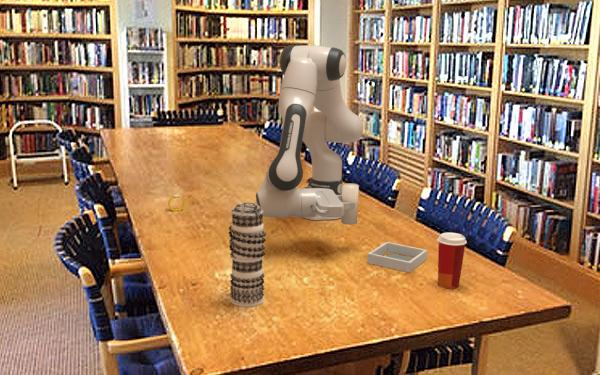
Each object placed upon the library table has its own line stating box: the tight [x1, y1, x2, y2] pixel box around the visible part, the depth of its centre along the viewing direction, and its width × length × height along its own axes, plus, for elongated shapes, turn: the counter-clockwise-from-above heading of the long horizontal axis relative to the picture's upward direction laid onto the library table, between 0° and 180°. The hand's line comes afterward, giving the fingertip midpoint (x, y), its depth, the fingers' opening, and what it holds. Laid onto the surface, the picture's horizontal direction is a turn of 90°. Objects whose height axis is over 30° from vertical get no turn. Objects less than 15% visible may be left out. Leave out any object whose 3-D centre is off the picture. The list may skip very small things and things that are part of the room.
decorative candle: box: [228, 202, 267, 308], centre depth 155 cm, size 9×9×25 cm
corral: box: [366, 241, 429, 274], centre depth 188 cm, size 14×14×3 cm
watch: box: [167, 194, 185, 212], centre depth 237 cm, size 6×3×6 cm, turn 112°
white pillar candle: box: [340, 182, 360, 226], centre depth 194 cm, size 5×5×12 cm
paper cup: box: [436, 232, 468, 290], centre depth 170 cm, size 8×8×14 cm
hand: (352, 202), depth 194 cm, fingers closed on white pillar candle, 5 cm apart
